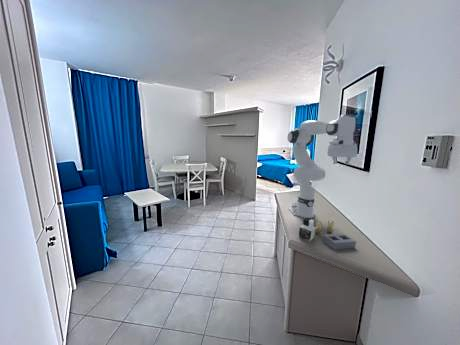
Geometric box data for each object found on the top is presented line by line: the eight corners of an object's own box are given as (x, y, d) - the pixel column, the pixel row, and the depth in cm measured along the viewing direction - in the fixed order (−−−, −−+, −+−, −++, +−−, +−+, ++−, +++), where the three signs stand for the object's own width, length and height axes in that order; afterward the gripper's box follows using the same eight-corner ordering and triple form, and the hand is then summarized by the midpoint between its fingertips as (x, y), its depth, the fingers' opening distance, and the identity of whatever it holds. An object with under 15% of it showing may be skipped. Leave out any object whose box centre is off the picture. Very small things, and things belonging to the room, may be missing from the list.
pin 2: (325, 232, 134) (327, 220, 133) (329, 231, 135) (331, 220, 134) (329, 234, 131) (330, 222, 130) (333, 233, 132) (335, 222, 131)
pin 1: (313, 232, 132) (315, 221, 131) (318, 232, 133) (319, 221, 132) (316, 235, 129) (318, 223, 128) (321, 234, 130) (322, 223, 129)
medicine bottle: (298, 237, 125) (300, 219, 123) (303, 233, 130) (305, 216, 128) (309, 241, 120) (312, 222, 118) (314, 237, 126) (316, 219, 124)
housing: (334, 249, 113) (335, 243, 112) (322, 240, 122) (323, 234, 122) (354, 247, 116) (356, 241, 115) (341, 239, 126) (342, 233, 125)
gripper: (352, 142, 130) (349, 163, 133) (327, 140, 124) (324, 163, 126) (361, 142, 124) (358, 164, 127) (335, 141, 118) (332, 164, 120)
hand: (341, 164), depth 126 cm, fingers open, 8 cm apart
